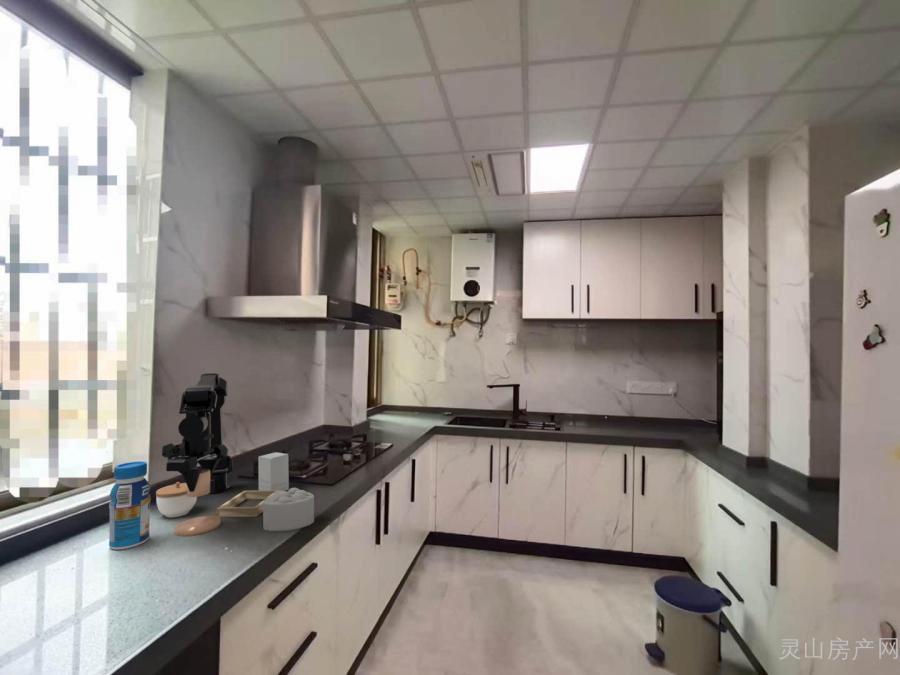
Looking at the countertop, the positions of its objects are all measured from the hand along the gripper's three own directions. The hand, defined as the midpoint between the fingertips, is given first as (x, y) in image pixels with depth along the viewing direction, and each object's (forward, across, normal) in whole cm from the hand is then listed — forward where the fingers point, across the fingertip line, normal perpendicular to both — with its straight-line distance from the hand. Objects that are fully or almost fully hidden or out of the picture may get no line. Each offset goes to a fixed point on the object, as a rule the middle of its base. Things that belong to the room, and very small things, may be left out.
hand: (198, 488), depth 114 cm
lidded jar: (+11, -10, -13) cm, 20 cm away
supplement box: (+11, -30, +8) cm, 33 cm away
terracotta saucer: (+11, 0, 0) cm, 11 cm away
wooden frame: (+11, -15, +7) cm, 20 cm away
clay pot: (+2, 0, 0) cm, 2 cm away
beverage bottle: (+11, +9, -12) cm, 19 cm away
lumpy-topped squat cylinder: (+11, -2, +25) cm, 27 cm away
